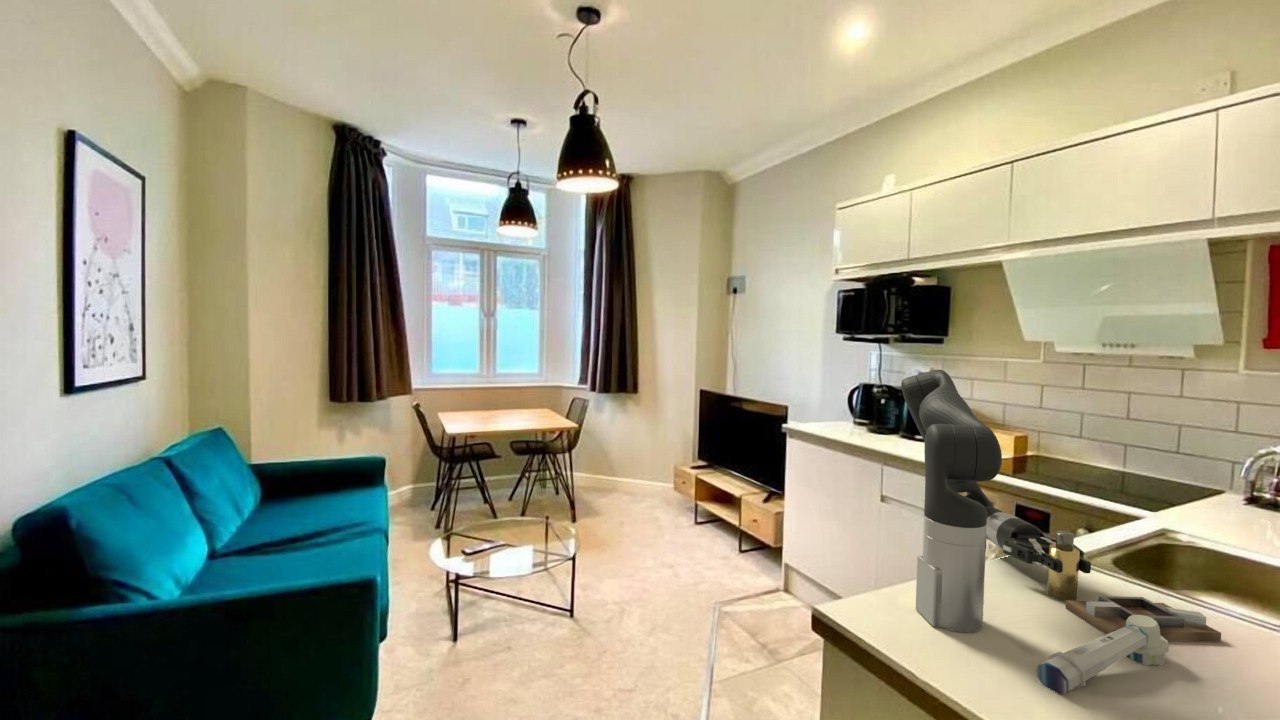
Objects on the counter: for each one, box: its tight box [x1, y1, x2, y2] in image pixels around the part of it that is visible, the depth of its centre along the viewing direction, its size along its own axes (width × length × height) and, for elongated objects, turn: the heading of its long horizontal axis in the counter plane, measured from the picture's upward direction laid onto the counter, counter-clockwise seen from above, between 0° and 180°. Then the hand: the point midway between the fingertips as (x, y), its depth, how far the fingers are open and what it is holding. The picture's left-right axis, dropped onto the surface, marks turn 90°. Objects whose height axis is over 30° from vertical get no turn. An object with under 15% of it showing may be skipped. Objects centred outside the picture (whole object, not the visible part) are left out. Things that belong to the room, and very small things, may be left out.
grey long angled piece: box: [1035, 615, 1169, 695], centre depth 79 cm, size 5×7×25 cm
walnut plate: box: [1065, 600, 1222, 643], centre depth 93 cm, size 17×10×2 cm, turn 89°
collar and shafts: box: [1085, 595, 1207, 628], centre depth 93 cm, size 16×8×2 cm, turn 89°
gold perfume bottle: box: [1046, 530, 1080, 602], centre depth 102 cm, size 4×4×12 cm
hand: (1074, 567), depth 100 cm, fingers closed on gold perfume bottle, 4 cm apart
